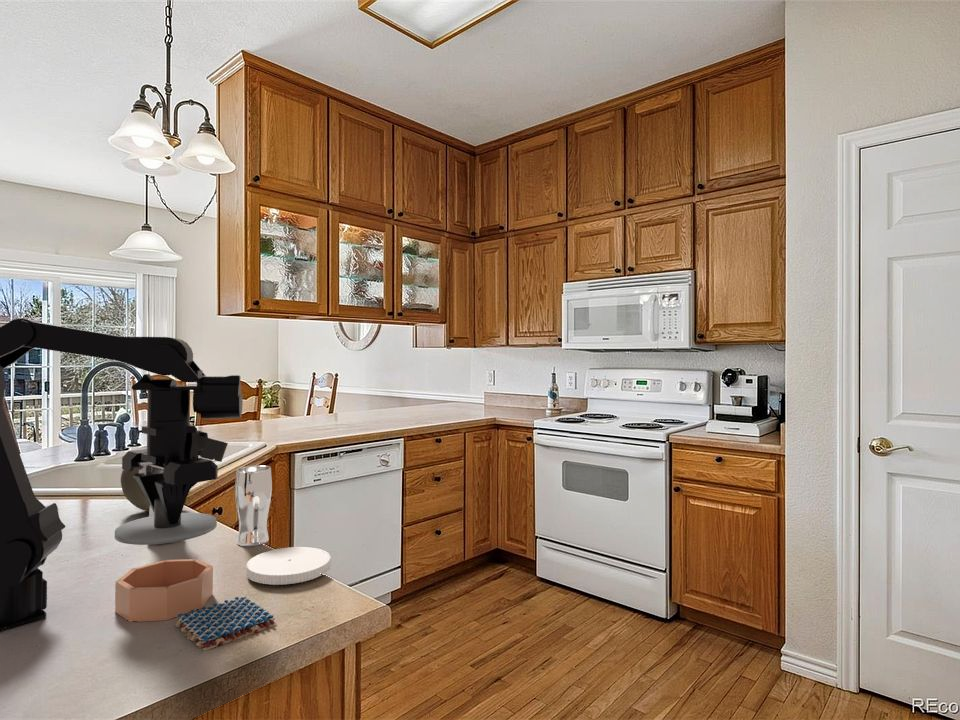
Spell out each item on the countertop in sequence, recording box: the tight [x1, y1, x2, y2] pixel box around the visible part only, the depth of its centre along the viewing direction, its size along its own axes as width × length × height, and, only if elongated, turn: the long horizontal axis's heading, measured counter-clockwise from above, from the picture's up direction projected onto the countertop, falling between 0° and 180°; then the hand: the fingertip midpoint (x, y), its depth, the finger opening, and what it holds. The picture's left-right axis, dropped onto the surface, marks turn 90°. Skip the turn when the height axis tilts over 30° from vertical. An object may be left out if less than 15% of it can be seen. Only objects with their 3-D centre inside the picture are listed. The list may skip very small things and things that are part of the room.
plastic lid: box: [245, 546, 332, 586], centre depth 99 cm, size 14×14×2 cm
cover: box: [114, 498, 218, 546], centre depth 86 cm, size 14×14×5 cm
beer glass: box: [234, 465, 273, 548], centre depth 115 cm, size 7×7×15 cm
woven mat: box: [175, 596, 277, 651], centre depth 79 cm, size 10×11×2 cm
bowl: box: [114, 558, 214, 623], centre depth 86 cm, size 12×12×4 cm
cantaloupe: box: [120, 467, 150, 512], centre depth 135 cm, size 14×14×15 cm
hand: (167, 521), depth 86 cm, fingers closed on cover, 4 cm apart
